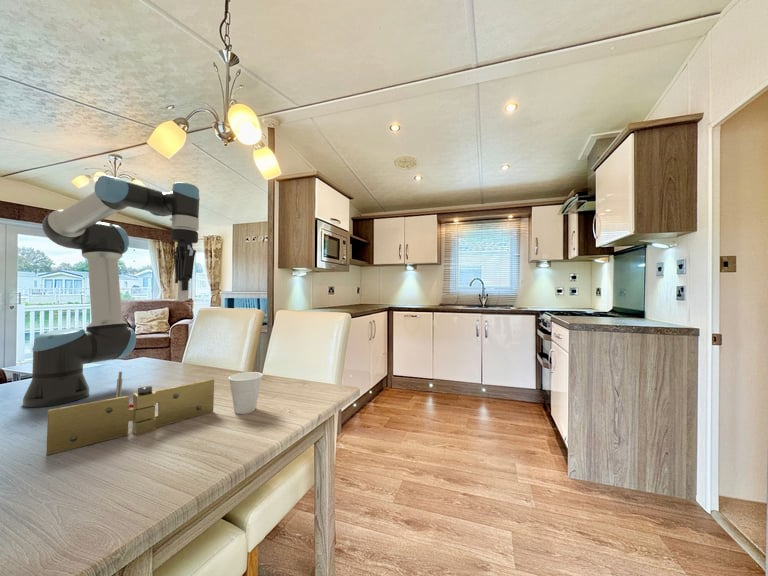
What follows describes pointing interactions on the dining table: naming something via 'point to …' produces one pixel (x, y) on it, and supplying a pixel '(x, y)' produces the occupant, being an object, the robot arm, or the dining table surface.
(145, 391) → the pin
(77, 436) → the moving leaf
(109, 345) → the robot arm
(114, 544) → the dining table surface
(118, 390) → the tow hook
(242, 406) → the cup
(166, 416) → the fixed leaf
